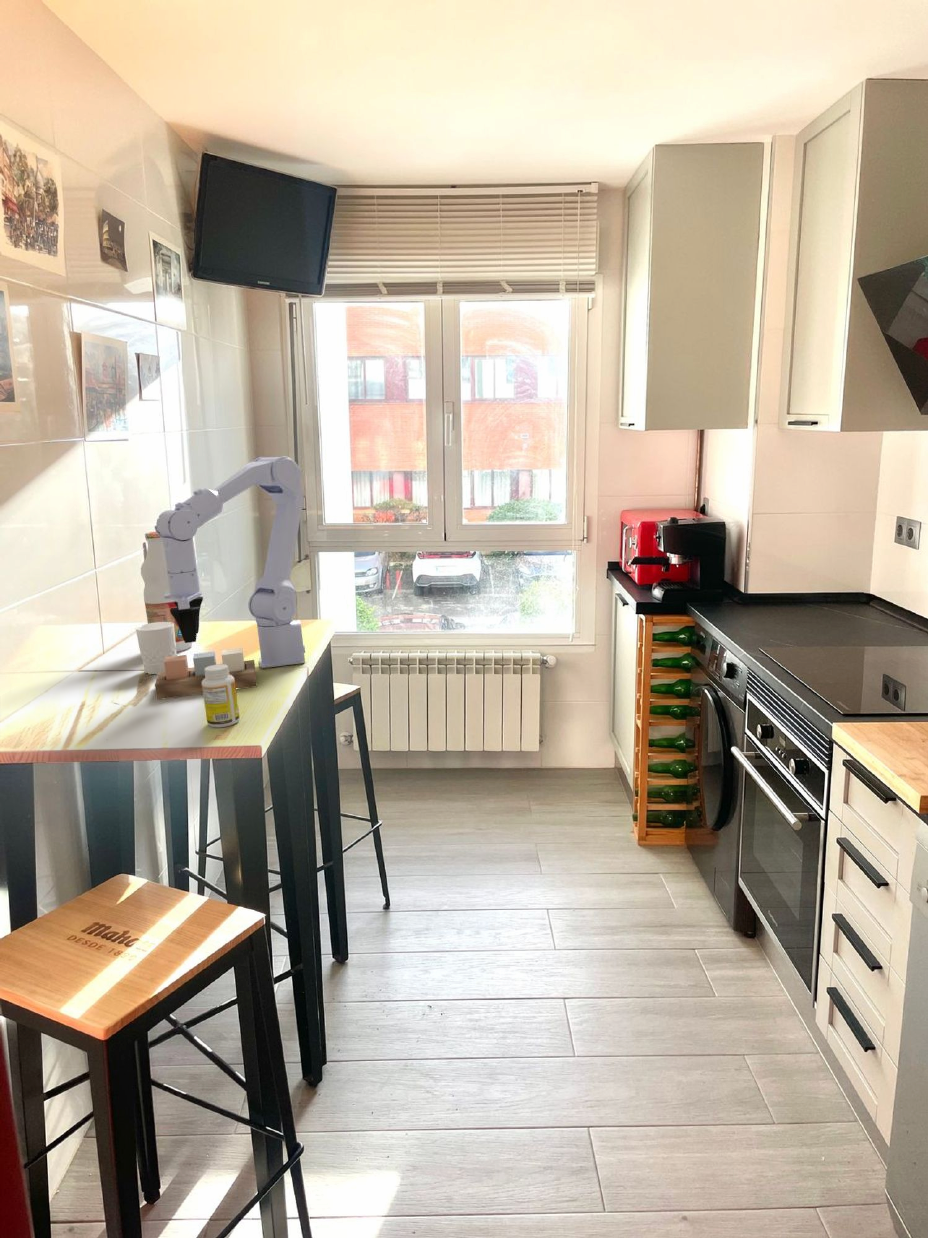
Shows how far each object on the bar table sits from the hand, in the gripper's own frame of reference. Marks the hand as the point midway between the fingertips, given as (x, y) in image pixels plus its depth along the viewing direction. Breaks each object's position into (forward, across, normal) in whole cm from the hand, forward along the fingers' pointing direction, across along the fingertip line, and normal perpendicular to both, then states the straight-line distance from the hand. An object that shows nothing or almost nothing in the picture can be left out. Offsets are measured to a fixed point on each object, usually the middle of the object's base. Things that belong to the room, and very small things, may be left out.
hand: (191, 637), depth 183 cm
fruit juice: (+10, -36, -8) cm, 38 cm away
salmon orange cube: (+7, +2, -3) cm, 8 cm away
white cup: (+10, -16, -9) cm, 21 cm away
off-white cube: (+7, +2, +8) cm, 11 cm away
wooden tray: (+10, +2, +2) cm, 10 cm away
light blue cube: (+7, +2, +2) cm, 8 cm away
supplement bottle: (+10, +28, +6) cm, 30 cm away
